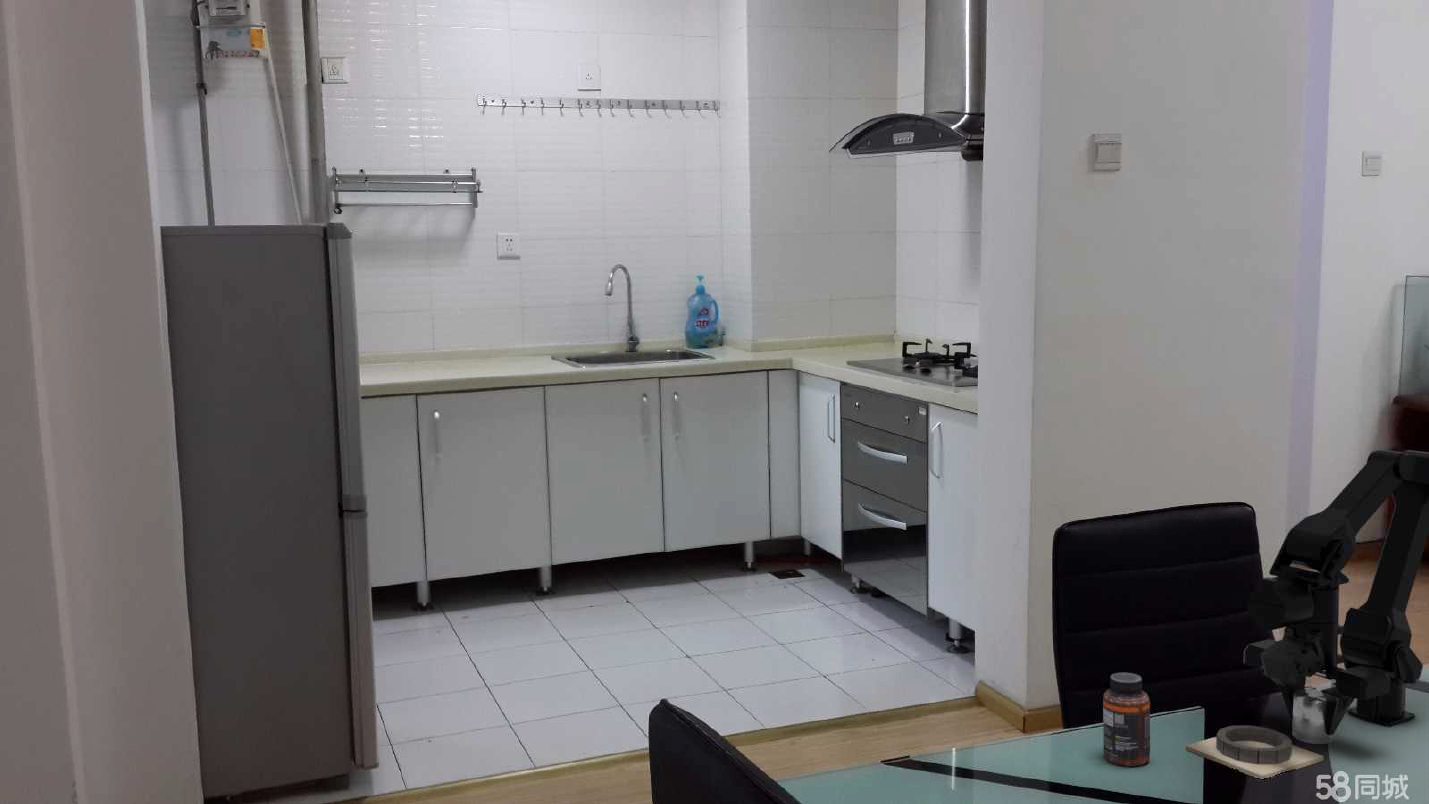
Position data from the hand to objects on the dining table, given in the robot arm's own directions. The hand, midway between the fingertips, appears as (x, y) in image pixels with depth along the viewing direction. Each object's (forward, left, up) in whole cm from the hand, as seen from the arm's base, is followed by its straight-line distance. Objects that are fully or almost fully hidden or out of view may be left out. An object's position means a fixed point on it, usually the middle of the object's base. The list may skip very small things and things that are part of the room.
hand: (1312, 728), depth 172 cm
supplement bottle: (+27, -8, -2) cm, 28 cm away
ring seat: (+12, 0, -1) cm, 12 cm away
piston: (0, 0, -1) cm, 1 cm away
